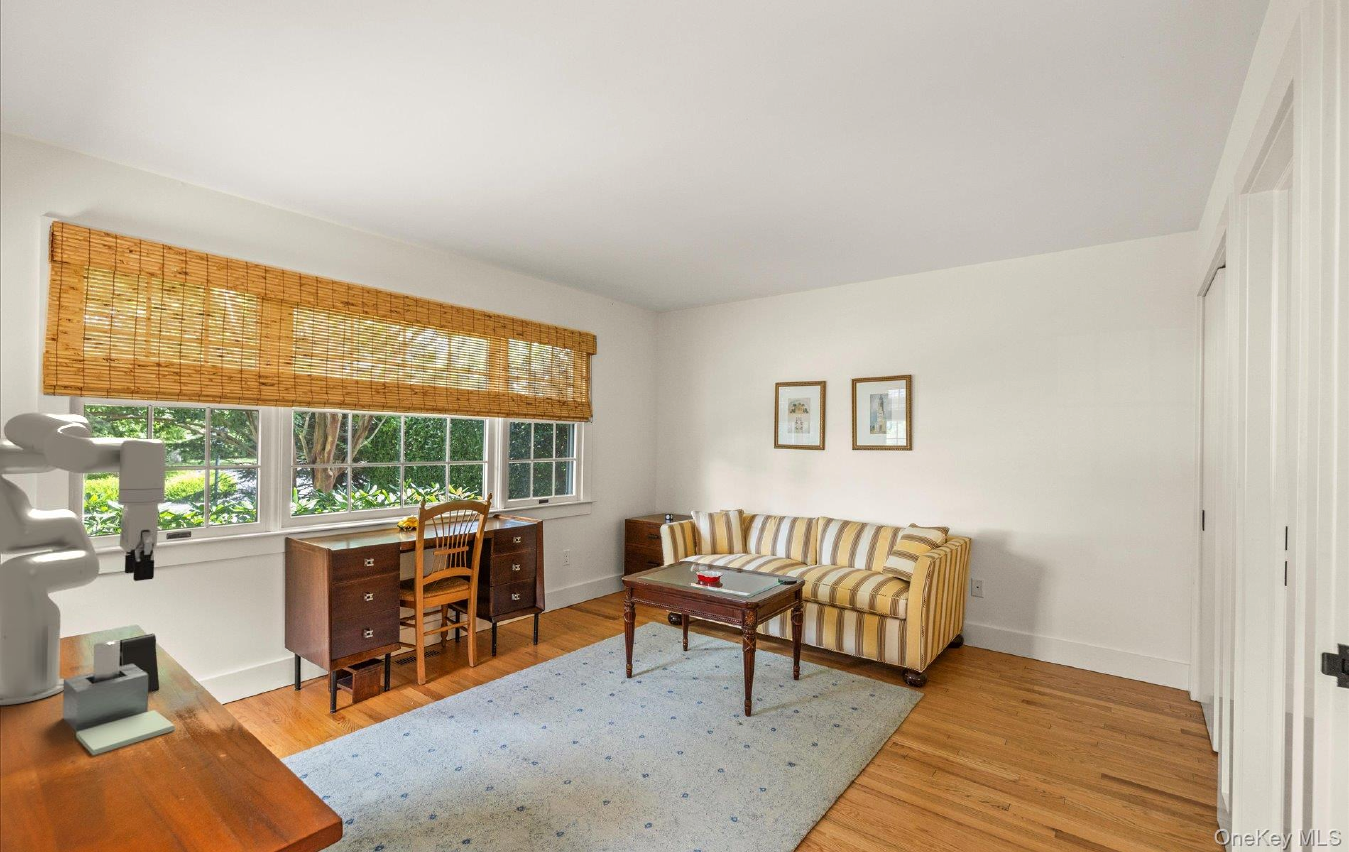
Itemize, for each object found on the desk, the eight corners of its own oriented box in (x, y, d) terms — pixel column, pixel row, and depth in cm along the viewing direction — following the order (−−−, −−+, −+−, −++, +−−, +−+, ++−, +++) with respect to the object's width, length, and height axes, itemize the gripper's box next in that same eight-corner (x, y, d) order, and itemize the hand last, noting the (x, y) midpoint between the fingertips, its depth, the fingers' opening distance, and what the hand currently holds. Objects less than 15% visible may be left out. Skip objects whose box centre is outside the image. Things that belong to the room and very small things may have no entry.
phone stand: (114, 688, 143) (115, 636, 143) (147, 680, 147) (148, 630, 148) (125, 698, 137) (126, 644, 138) (159, 689, 142) (160, 637, 142)
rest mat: (76, 737, 119) (76, 731, 119) (154, 714, 129) (154, 709, 129) (93, 755, 113) (93, 750, 113) (174, 730, 122) (174, 725, 122)
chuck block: (62, 717, 128) (63, 679, 128) (131, 699, 137) (132, 663, 137) (76, 732, 121) (77, 691, 121) (147, 712, 130) (148, 674, 130)
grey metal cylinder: (90, 701, 129) (91, 643, 129) (115, 695, 132) (116, 638, 132) (95, 706, 126) (97, 647, 126) (121, 699, 130) (122, 642, 130)
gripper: (111, 494, 136) (108, 572, 135) (126, 501, 125) (123, 586, 124) (155, 492, 141) (152, 567, 141) (173, 498, 130) (170, 579, 130)
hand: (138, 575), depth 133 cm, fingers open, 9 cm apart
